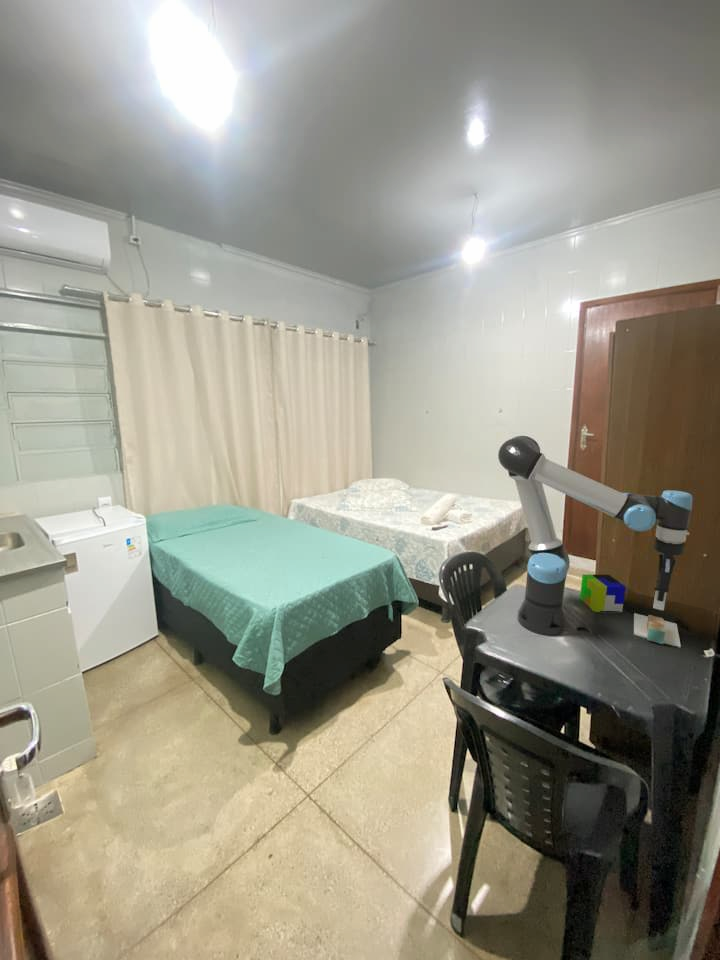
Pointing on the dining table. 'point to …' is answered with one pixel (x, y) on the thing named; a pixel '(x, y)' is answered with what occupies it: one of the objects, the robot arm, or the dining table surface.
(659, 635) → the block
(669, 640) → the mat
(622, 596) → the puzzle toy
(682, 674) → the dining table surface
